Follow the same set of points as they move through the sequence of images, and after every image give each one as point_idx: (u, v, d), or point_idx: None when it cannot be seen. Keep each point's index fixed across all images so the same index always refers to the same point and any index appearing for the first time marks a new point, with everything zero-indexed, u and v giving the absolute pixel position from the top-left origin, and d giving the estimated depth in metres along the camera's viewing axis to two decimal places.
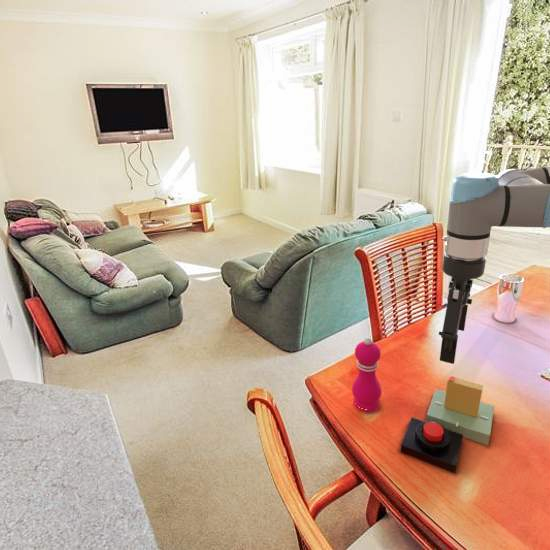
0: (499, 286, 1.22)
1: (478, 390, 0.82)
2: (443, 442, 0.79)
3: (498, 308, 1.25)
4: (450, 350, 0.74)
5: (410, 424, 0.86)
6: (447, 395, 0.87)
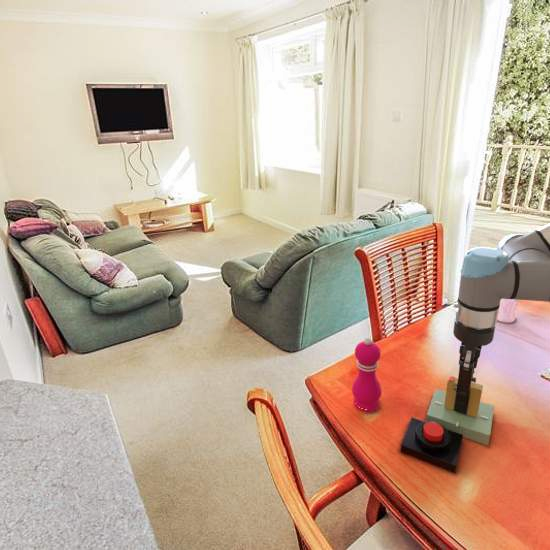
0: None
1: (478, 390, 0.82)
2: (443, 442, 0.79)
3: None
4: (463, 403, 0.83)
5: (410, 424, 0.86)
6: (447, 395, 0.87)
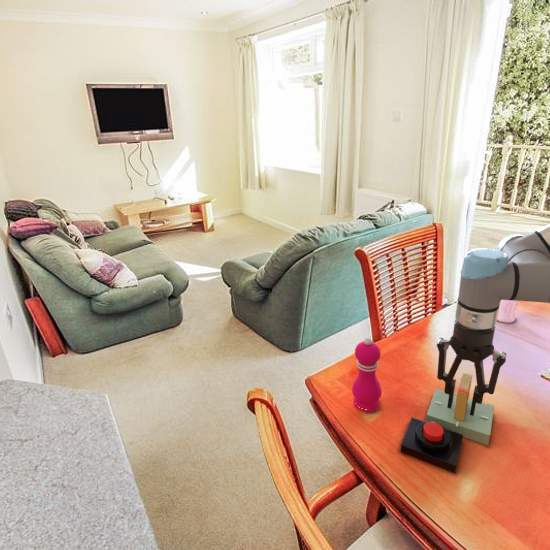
0: None
1: (471, 377, 0.86)
2: (443, 442, 0.79)
3: None
4: None
5: (410, 424, 0.86)
6: (465, 407, 0.83)
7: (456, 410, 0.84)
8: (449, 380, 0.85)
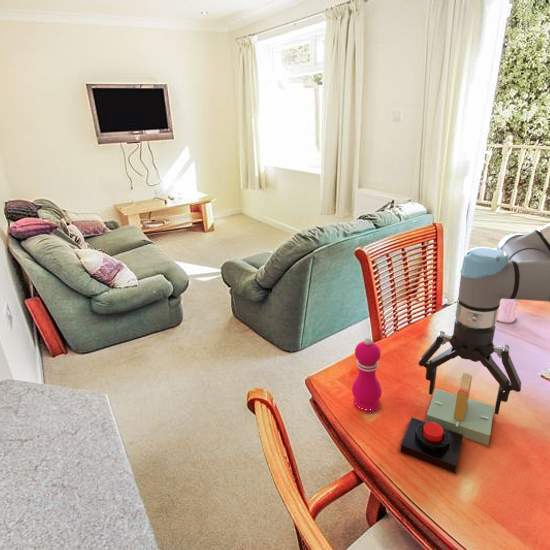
0: None
1: (471, 377, 0.86)
2: (443, 442, 0.79)
3: None
4: None
5: (410, 424, 0.86)
6: (465, 407, 0.83)
7: (456, 410, 0.84)
8: (431, 367, 0.86)
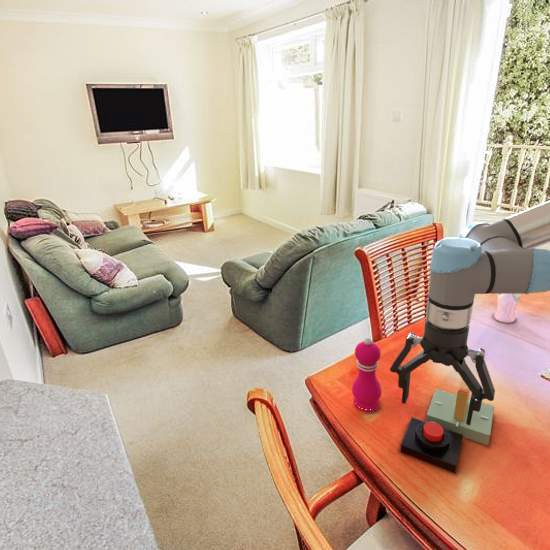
0: None
1: None
2: (443, 442, 0.79)
3: (498, 308, 1.25)
4: None
5: (410, 424, 0.86)
6: (465, 407, 0.83)
7: (456, 410, 0.84)
8: (403, 373, 0.78)
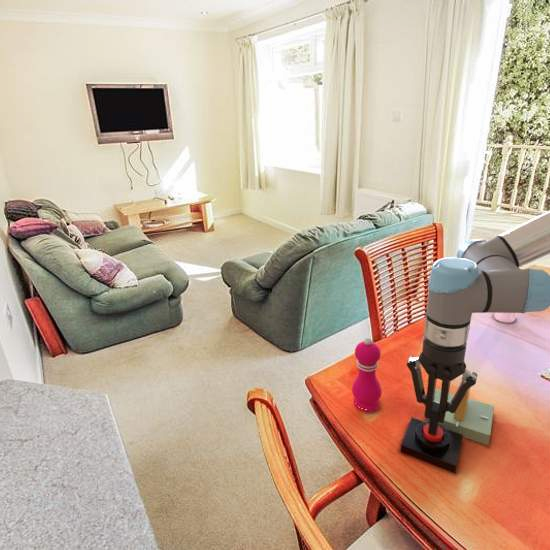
0: None
1: None
2: (443, 442, 0.79)
3: None
4: None
5: (410, 424, 0.86)
6: (465, 407, 0.83)
7: (456, 410, 0.84)
8: (429, 403, 0.77)
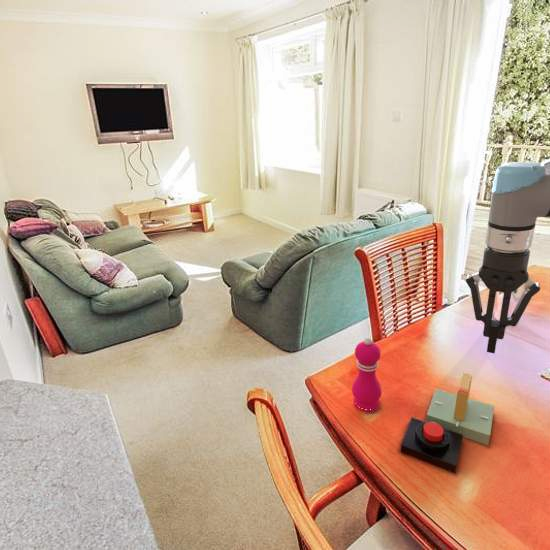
0: None
1: (471, 377, 0.86)
2: (443, 442, 0.79)
3: (498, 308, 1.25)
4: None
5: (410, 424, 0.86)
6: (465, 407, 0.83)
7: (456, 410, 0.84)
8: (488, 319, 0.77)
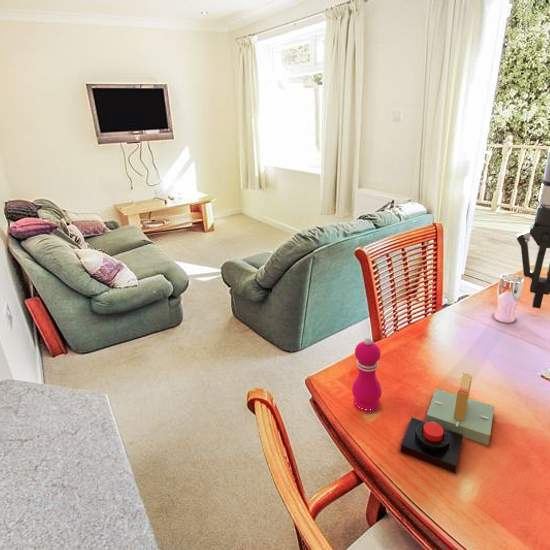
0: (499, 286, 1.22)
1: (471, 377, 0.86)
2: (443, 442, 0.79)
3: (498, 308, 1.25)
4: None
5: (410, 424, 0.86)
6: (465, 407, 0.83)
7: (456, 410, 0.84)
8: (536, 275, 0.83)
